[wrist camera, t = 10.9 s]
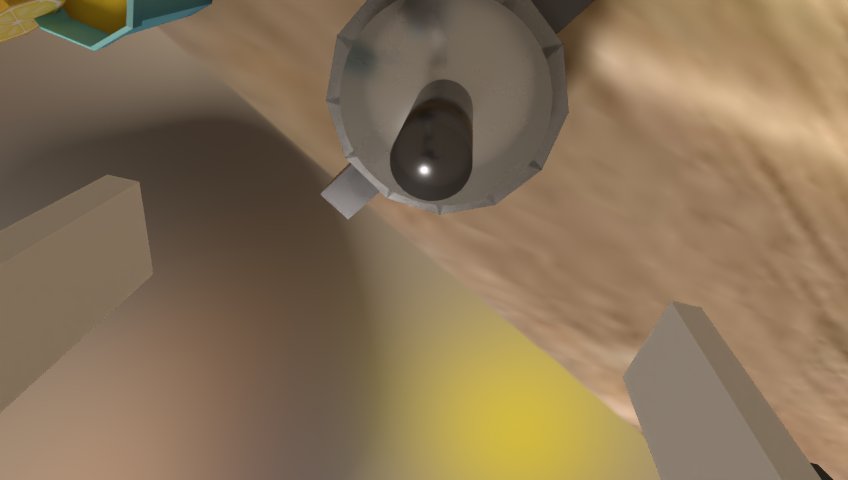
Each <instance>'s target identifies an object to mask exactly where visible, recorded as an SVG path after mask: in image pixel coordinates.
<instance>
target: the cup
mask: <svg viewBox="0 0 848 480" xmlns="http://www.w3.org/2000/svg"><path fill="white" fill-rule="evenodd" d="M210 4H212V0H0V43H2V42H5V41H8V40H11V39H14V38H17V37H20V36H23V35H26V34H28V33H30V32H31V31H33V30H35V29H36V28H38V27H40V28H41V29H42V30H45V31H47V32H49V33H52V34H54V35H57V36H59V37H62V38H64V39H66V40H69V41H71V42H74V43H77V44H79V45H81V46H84V47H86V48H88V49H91V50H94V51H96V50H98V49H101V48H103V47H106V46H108V45H109V44H111V43H113V42H115V41H116V40H118V39H119V38H121V37H123V36H125V35H128V34H131V33H135V32H138V31H141V30H144V29H148V28H151V27H154V26H158V25H161V24H164V23H168V22H171V21H174V20H177V19H181V18H184V17H187V16H190V15H192V14H194V13H196V12H198V11H199V10H201V9H203V8H205V7H206V6H208V5H210Z"/></svg>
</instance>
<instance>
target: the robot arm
mask: <svg viewBox="0 0 848 480" xmlns="http://www.w3.org/2000/svg"><path fill="white" fill-rule="evenodd" d="M152 274H153V269H152V263H151V256H150V250H149V243H148V237H147V230H146V224H145V218H144V210H143V204H142V197H141V192H140V184H139V182H138V181H133V180H129V179H124V178H120V177H115V176H111V175H106V176H104V177H102V178H100V179H98V180H96V181H95V182H93V183H91V184H89V185H87V186H85V187H83V188H81V189H79V190H77V191H76V192H74V193H72V194H70V195H68V196H66V197H64V198H62V199H60V200H58V201H56V202H55V203H53V204H51V205H49V206H47V207H45V208H43V209H41V210H39V211H37V212H35V213H33V214H32V215H30V216H28V217H26V218H24V219H22V220H20V221H18V222H16V223H14V224H13V225H11V226H9V227H7V228H5V229H3V230H1V231H0V413H1V412H2V411H3V410H4V409H5V408H6V407H7V406H8V405H9V404H10V403H12V402H13V401H14V400H15V399H16V398H17V397H18V396H19V395H20V394H21V393H22V392H24V391H25V390H26V389H27V388H28V387H29V386H30V385H31V384H32V383H34V382H35V381H36V380H37V379H38V378H39V377H40V376H41V375H42V374H44V372H46V371H47V370H48V369H49V368H50V367H51V366H52V365H53V364H54V363H56V362H57V361H58V360H59V359H60V358H61V357H62V356H63V355H64V354H66V352H68V351H69V350H70V349H71V348H72V347H73V346H74V345H75V344H77V343H78V342H79V341H80V340H81V339H82V338H83V337H84V336H85V335H86V334H87V333H89V332H90V331H91V330H92V329H93V328H94V327H95V326H96V325H97V324H99V323H100V322H101V321H102V320H103V319H104V318H105V317H106V316H107V315H108V314H109V313H111V312H112V311H113V310H114V309H115V308H116V307H117V306H118V305H119V304H120V303H122V302H123V301H124V300H125V299H126V298H127V297H128V296H129V295H130V294H131V293H133V292H134V291H135V290H136V289H137V288H138V287H139V286H140V285H141V284H142V283H144V282H145V281H146V280H147V279H148V278H149V277H150V276H151V275H152ZM623 380H624V383H625V385H626V388H627V391H628V393H629V396H630V399H631V401H632V404H633V407H634V409H635V412H636V415H637V417H638V420H639V423H640V425H641V428H642V431H643V433H644V436H645V439H646V441H647V444H648V446H649V449H650V452H651V454H652V457H653V460H654V462H655V465H656V468H657V470H658V473H659V476H660V478H661V480H833V479H832V478H831V477H830V476H829V475H828V474H827V473H826V472H825V471H824V470H823V469H822V468H821V467H820V466H819V465H818V464H813V463H810V462H809V461H808V459H807V458H806V457H805V455H804V454H803V452H802V451H801V449H800V448H799V447H798V445H797V444H796V442H795V441H794V439H793V438H792V437H791V435H790V434H789V432H788V431H787V429H786V428H785V427H784V425H783V424H782V422H781V421H780V419H779V418H778V417H777V415H776V414H775V412H774V411H773V409H772V408H771V407H770V405H769V404H768V402H767V401H766V399H765V398H764V397H763V395H762V394H761V392H760V391H759V389H758V388H757V387H756V385H755V384H754V382H753V381H752V379H751V378H750V377H749V375H748V374H747V372H746V371H745V369H744V368H743V367H742V365H741V364H740V362H739V361H738V359H737V358H736V357H735V355H734V354H733V352H732V351H731V349H730V348H729V347H728V345H727V344H726V342H725V341H724V339H723V338H722V337H721V335H720V334H719V332H718V331H717V329H716V328H715V327H714V325H713V324H712V322H711V321H710V319H709V318H708V317H707V315H706V314H705V312H704V311H703V309H702V308H701V307H697V306H692V305H688V304H683V303H679V302H674V301H670V303H669V305H668V306H667V308H666V309H665V311H664V312H663V314H662V316H661V317H660V319H659V320H658V322H657V323H656V325H655V327H654V328H653V330H652V331H651V333H650V334H649V336H648V338H647V339H646V341H645V342H644V344H643V345H642V347H641V349H640V350H639V352H638V353H637V355H636V356H635V358H634V360H633V361H632V363H631V364H630V366H629V367H628V369H627V371H626V372H625V374H624V375H623Z"/></svg>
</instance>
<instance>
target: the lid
mask: <svg viewBox="0 0 848 480" xmlns="http://www.w3.org/2000/svg"><path fill="white" fill-rule="evenodd" d="M340 109H341V116H342V121H343V125H344V129H345V132H346V135H347V138H348V140H349V142H350V144H351V146H352V148H353V150H354V152H355V154H356V155H357V157H358V158H359V160H360V161H361V163H362V164H363V165H364V166H365V168H366V169H367V170H368V171H369V172H370V173H371V174H372V175H373V176H374V177H375V178H376V179H377V180H378V181H379V182H381V183H382V184H383V185H385V186H386V187H387V188H389V189H391V190H392V191H394V192H396V193H398V194H399V195H402V196H404V197H406V198H409V199H411V200H414V201H418V202H421V203H426V204H432V205H460V204H465V203H470V202H474V201H477V200H480V199H483V198H486V197H488V196H490V195H492V194H494V193H496V192H498V191H500V190H501V189H503V188H504V187H506V186H507V185H509V184H510V183H511V182H512V181H514V180H515V179H516V178H517V177H518V176H519V175H520V174H521V173H522V172H523V171H524V170H525V169H526V168H527V166H528V165H529V164H530V163H531V161H532V160H533V159H534V157H535V155H536V154H537V152H538V150H539V148H540V147H541V144H542V142H543V140H544V137H545V135H546V132H547V129H548V125H549V122H550V116H551V110H552V84H551V76H550V72H549V68H548V65H547V61H546V59H545V56H544V54H543V51H542V49H541V47H540V45H539V43H538V42H537V40H536V38H535V37H534V35H533V34H532V32H531V31H530V30H529V29H528V27H527V26H526V25H525V24H524V22H523V21H522V20H521V19H519V18H518V17H517V16H516V15H515V14H514V13H513V12H512V11H511V10H509V9H508V8H506V7H505V6H503V5H502V4H500V3H499V2H497V1H495V0H397V1H395V2H394V3H392V4H391V5H389V6H388V7H386V8H385V9H383V10H382V11H381V12H379V13H378V14H377V15H376V16H375V17H374V18H373V19H372V20H371V21H370V22H369V23H368V24H367V25H366V26H365V28H364V29H363V30H362V31H361V32H360V34H359V36H358V37H357V39H356V40H355V42H354V44H353V45H352V48H351V50H350V52H349V54H348V56H347V59H346V62H345V66H344V69H343V72H342V78H341V84H340Z"/></svg>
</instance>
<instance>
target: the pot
mask: <svg viewBox="0 0 848 480" xmlns="http://www.w3.org/2000/svg"><path fill="white" fill-rule="evenodd" d="M395 1H397V0H367V1H366V2H365V4H364V5H363V6H362V7H361V8H360V9H359V11H358V12H357V13H356V14H355V15H354V16H353V18H352V19H351V20H350V21H349V22H348V23H347V25H346V26H345V27H344V28H343V29H342V30H341V32H340V33H339V34H338V35H337V39H336V45H335V51H334V57H333V63H332V69H331V74H330V80H329V86H328V92H327V98H326V102H327V105H328V108H329V111H330V113H331V116H332V119H333V122H334V125H335V128H336V131H337V134H338V137H339V140H340V143H341V146H342V149H343V152H344V155H345V158H346V159H347V160H348V161H349V162H350V163H349V164H348V165H347V166H346V167H345V168H344V169H343V170H342V171H341V172H340V173H339V174H338V175H337V176H336V177H335V178H334V179H333V180H332V181H331V182H330V183H329V184H328V185H327V186H326V187H325V189H324V190H323V192H322V193H321V195H322V196H323V197H324V198H325V199H326V200H327V201H328V202H330V203H331V204H332V205H333V206H334V207H335V208H336V209H337V210H338V211H340V212H341V213H342V214H343V215H344V216H345V217H346V218H347V219H349V218H350V217H351V216H353V215H354V214H355V213H356V212H357V211H358V210H359V209H360V208H362V207H363V206H364V205H365V204H366V203H367V202H368V201H370V200H371V199H372V198H373V197H374V196H375V195H376V194H377V193H378V192H381V193H382V194H383V195H384V196H385V197H386V198H388V199H392V200H395V201H398V202H401V203H405V204H408V205H411V206H414V207H418V208H421V209H424V210H427V211H430V212H434V213H437V214H445V213H451V212H456V211H462V210H468V209H474V208H480V207H486V206H492V205H495V204H497V203H498V202H499V201H501V200H502V199H503V198H505V197H506V196H507V195H509V194H510V193H511V192H513V191H514V190H515V189H517V188H518V187H519V186H521V185H522V184H523V183H525V182H526V181H527V180H529V179H530V178H531V177H533V176H534V175H535V174H537V173H538V172H539V171H541V170H542V168H543V166H544V164H545V162H546V160H547V157H548V155H549V153H550V151H551V149H552V147H553V145H554V142H555V140H556V138H557V136H558V134H559V132H560V130H561V127H562V125H563V123H564V121H565V119H566V117H567V115H568V113H569V111H568V98H567V86H566V73H565V60H564V48H563V43H562V42H561V40H560V39H559V38H558V36H557V35H556V34H557V33H558V32H559V31H561V30H562V29H563V28H564V27H565V26H566V25H567V24H568V23H570V22H571V21H572V20H573V19H574V18H575V17H576V16H577V15H578V14H580V13H581V12H582V11H583V10H584V9H585V8H586V7H587V6H589V5H590V4H591V3H592V2H593V1H594V0H495V1H497V2H499V3H500V4H502V5H503V6H505V7H506V8H508V9H509V10H511V11H512V12H513V13H514V14H515V15H516V16H517V17H518V18H519V19H521V20H522V21H523V22H524V24H525V25H526V26H527V27H528V29H529V30H530V31H531V32H532V34H533V35H534V37H535V38H536V40H537V42H538V43H539V45H540V47H541V49H542V51H543V54H544V56H545V59H546V61H547V65H548V68H549V72H550V76H551V84H552V110H551V116H550V122H549V125H548V129H547V132H546V135H545V137H544V140H543V142H542V144H541V147H540V148H539V150H538V152H537V154H536V155H535V157H534V159H533V160H532V161H531V163H530V164H529V165H528V166H527V168H526V169H525V170H524V171H523V172H522V173H521V174H520V175H519V176H518V177H517V178H516V179H515V180H514V181H512V182H511V183H510V184H509V185H507V186H506V187H504V188H503V189H501V190H500V191H498V192H496V193H494V194H492V195H490V196H488V197H486V198H483V199H480V200H477V201H474V202H470V203H465V204H460V205H432V204H426V203H421V202H418V201H414V200H411V199H409V198H406V197H404V196H402V195H399V194H398V193H396V192H394V191H392V190H391V189H389V188H387V187H386V186H385V185H383V184H382V183H381V182H379V181H378V180H377V179H376V178H375V177H374V176H373V175H372V174H371V173H370V172H369V171H368V170H367V169H366V168H365V166H364V165H363V164H362V163H361V161H360V160H359V158H358V157H357V155H356V154H355V152H354V150H353V148H352V146H351V144H350V142H349V140H348V138H347V135H346V132H345V129H344V125H343V121H342V116H341V109H340V84H341V78H342V72H343V69H344V66H345V62H346V59H347V56H348V54H349V52H350V50H351V48H352V45H353V44H354V42H355V40H356V39H357V37H358V36H359V34H360V32H361V31H362V30H363V29H364V28H365V26H366V25H367V24H368V23H369V22H370V21H371V20H372V19H373V18H374V17H375V16H376V15H377V14H378V13H379V12H381V11H382V10H383V9H385V8H386V7H388V6H389V5H391V4H392V3H394V2H395Z"/></svg>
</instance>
